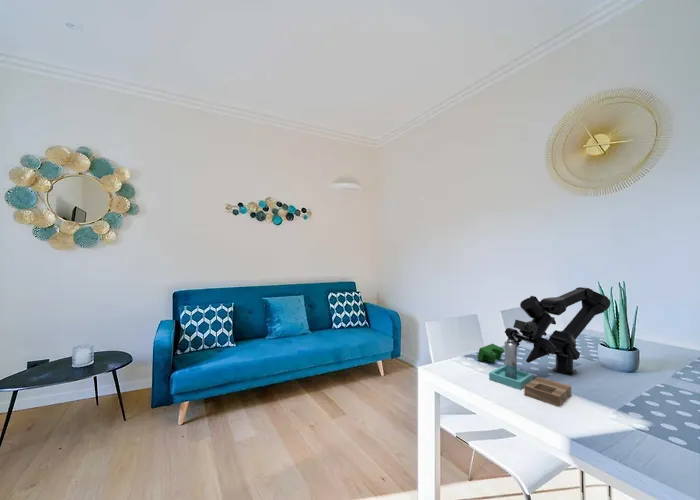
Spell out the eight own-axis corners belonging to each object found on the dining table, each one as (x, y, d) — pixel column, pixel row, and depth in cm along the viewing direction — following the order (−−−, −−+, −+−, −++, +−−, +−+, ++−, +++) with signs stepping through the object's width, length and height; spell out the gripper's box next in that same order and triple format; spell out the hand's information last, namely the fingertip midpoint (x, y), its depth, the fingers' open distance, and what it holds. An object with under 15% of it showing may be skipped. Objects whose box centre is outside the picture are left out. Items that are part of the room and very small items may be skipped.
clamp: (490, 373, 130) (490, 357, 126) (477, 365, 135) (477, 350, 131) (505, 357, 136) (505, 342, 132) (492, 351, 140) (492, 336, 137)
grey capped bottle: (511, 374, 115) (511, 338, 115) (519, 379, 111) (519, 341, 111) (502, 375, 114) (502, 339, 114) (510, 380, 110) (509, 342, 110)
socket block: (538, 384, 108) (538, 376, 108) (571, 394, 100) (571, 385, 100) (524, 394, 101) (524, 385, 101) (559, 406, 93) (559, 396, 93)
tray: (502, 371, 120) (502, 365, 120) (532, 380, 111) (532, 374, 111) (489, 379, 113) (489, 372, 113) (520, 389, 105) (520, 382, 105)
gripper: (507, 308, 124) (486, 337, 121) (549, 317, 106) (525, 352, 103) (522, 325, 126) (502, 354, 123) (566, 337, 108) (543, 372, 105)
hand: (516, 357), depth 113 cm, fingers open, 9 cm apart
